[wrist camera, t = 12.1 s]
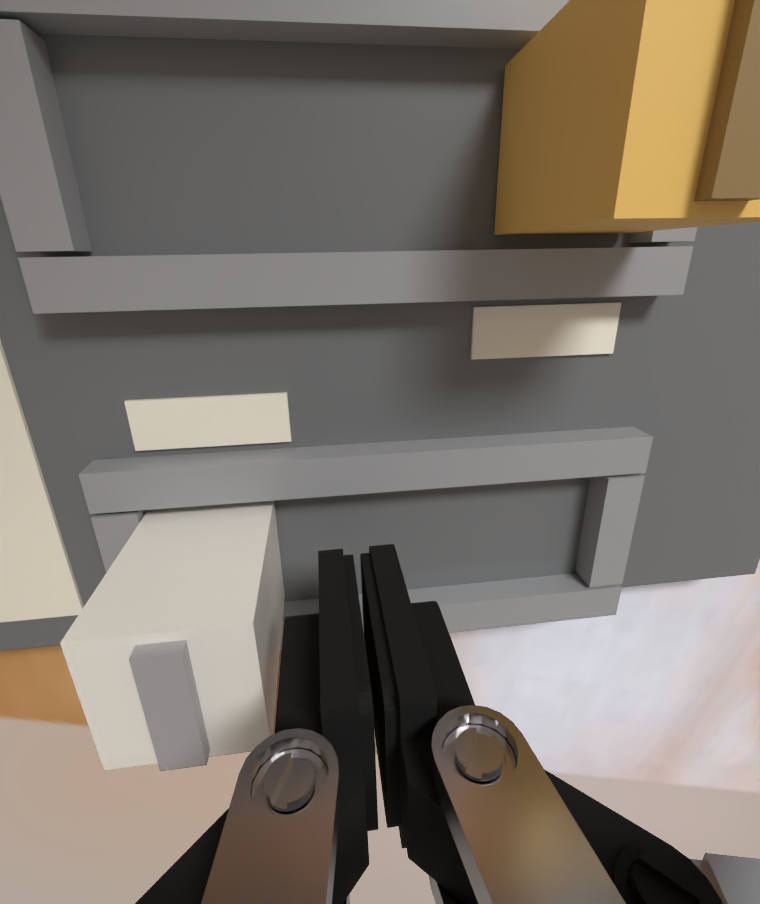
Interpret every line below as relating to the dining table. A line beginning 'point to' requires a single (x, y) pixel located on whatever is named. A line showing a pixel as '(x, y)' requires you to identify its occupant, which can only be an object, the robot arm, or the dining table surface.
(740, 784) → the dining table surface
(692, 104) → the yellow block with tab
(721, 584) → the dining table surface
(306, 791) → the robot arm
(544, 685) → the dining table surface
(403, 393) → the switch board
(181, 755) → the white tab
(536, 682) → the dining table surface
